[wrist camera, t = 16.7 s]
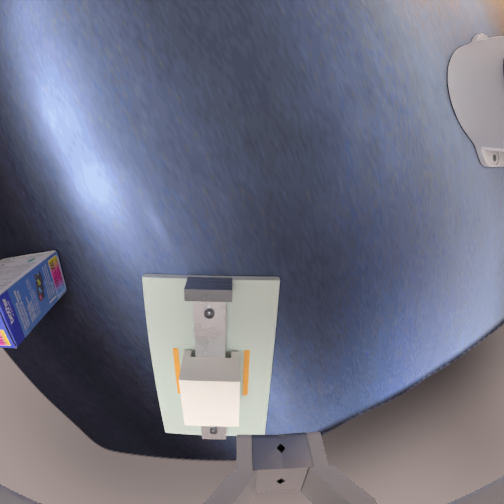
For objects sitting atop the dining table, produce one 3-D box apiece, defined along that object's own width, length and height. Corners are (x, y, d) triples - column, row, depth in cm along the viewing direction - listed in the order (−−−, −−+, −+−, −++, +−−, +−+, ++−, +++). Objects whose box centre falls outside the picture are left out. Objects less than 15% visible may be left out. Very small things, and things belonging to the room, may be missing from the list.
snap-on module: (238, 351, 34) (240, 381, 29) (237, 396, 36) (239, 427, 31) (184, 350, 33) (178, 379, 28) (188, 395, 35) (184, 425, 30)
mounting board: (278, 276, 33) (280, 280, 32) (263, 430, 40) (264, 435, 39) (144, 273, 32) (141, 277, 31) (166, 427, 39) (165, 433, 38)
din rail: (232, 277, 31) (232, 290, 28) (230, 431, 38) (230, 447, 35) (187, 276, 31) (183, 289, 28) (198, 430, 38) (197, 446, 35)
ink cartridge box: (13, 298, 32) (-52, 357, 18) (1, 258, 30) (-74, 307, 16) (70, 294, 32) (4, 365, 18) (57, 248, 30) (-23, 305, 16)
